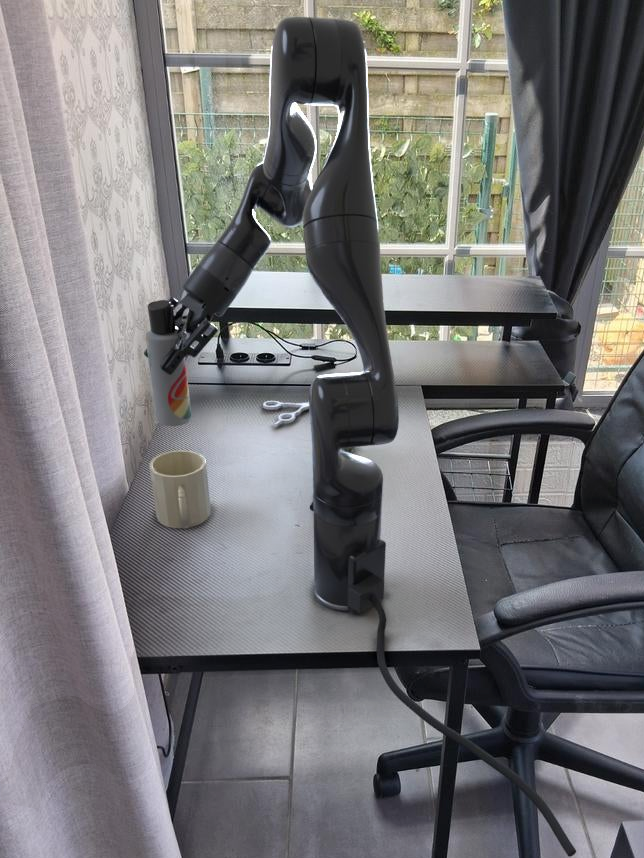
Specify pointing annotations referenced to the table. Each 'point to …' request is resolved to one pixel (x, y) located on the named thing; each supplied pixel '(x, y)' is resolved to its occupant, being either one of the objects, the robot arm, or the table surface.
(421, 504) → the table surface
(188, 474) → the mug
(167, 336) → the lotion bottle
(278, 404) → the scissors
